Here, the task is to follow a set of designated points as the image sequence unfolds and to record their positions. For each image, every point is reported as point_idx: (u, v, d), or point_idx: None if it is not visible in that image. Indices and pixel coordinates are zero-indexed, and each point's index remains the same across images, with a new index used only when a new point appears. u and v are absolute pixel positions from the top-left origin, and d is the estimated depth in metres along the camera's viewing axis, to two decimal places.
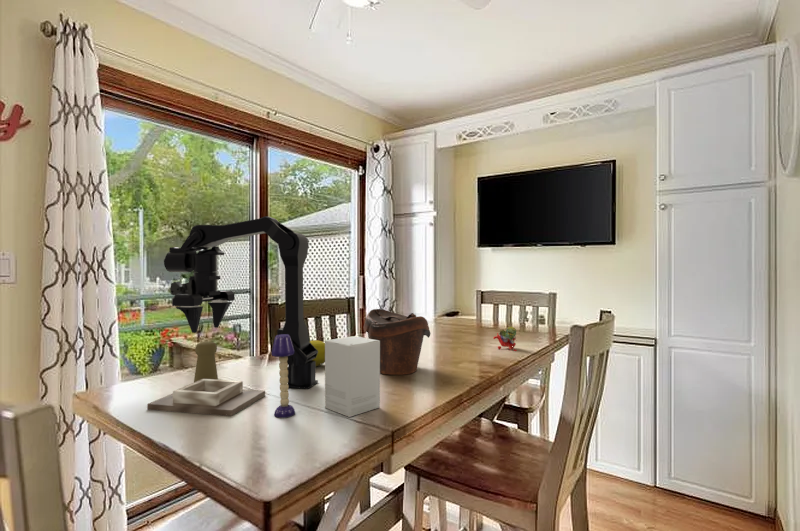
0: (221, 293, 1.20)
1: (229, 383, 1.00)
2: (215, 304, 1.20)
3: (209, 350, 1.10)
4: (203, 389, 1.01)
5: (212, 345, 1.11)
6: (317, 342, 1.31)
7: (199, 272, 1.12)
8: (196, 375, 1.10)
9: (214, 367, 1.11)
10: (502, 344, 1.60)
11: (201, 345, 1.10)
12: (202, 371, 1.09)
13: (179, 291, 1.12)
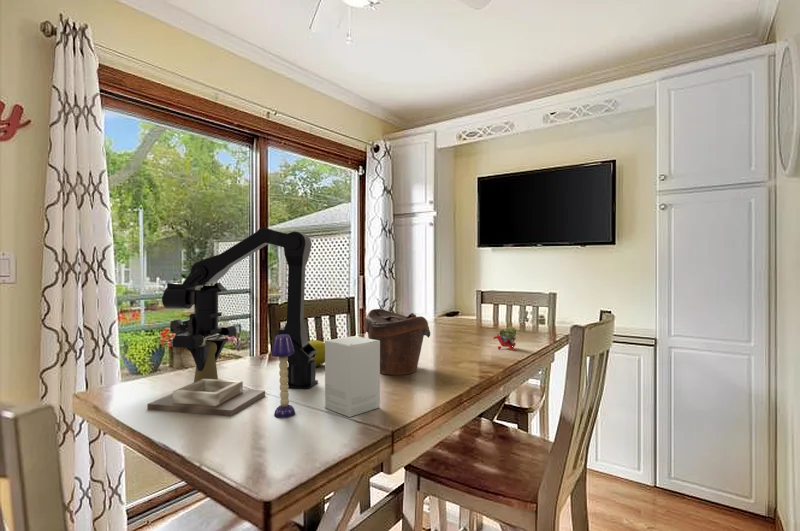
0: (222, 329, 1.17)
1: (229, 383, 1.00)
2: None
3: (209, 350, 1.10)
4: (203, 389, 1.01)
5: (212, 345, 1.11)
6: (317, 342, 1.31)
7: (200, 310, 1.09)
8: (196, 375, 1.10)
9: (214, 367, 1.11)
10: (502, 344, 1.60)
11: None
12: (202, 371, 1.09)
13: (179, 329, 1.08)
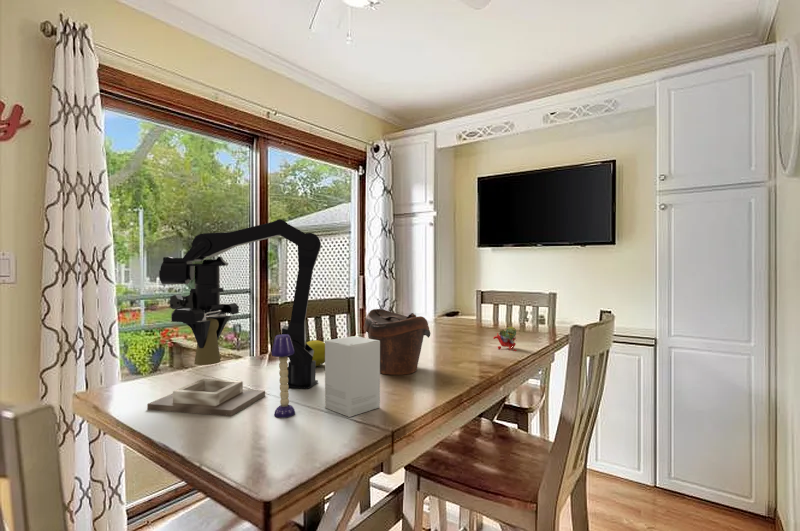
0: (224, 306, 1.12)
1: (229, 383, 1.00)
2: None
3: (211, 326, 1.05)
4: (203, 389, 1.01)
5: (213, 321, 1.06)
6: (317, 342, 1.31)
7: (201, 284, 1.04)
8: (197, 352, 1.05)
9: (216, 344, 1.07)
10: (502, 344, 1.60)
11: None
12: (203, 348, 1.05)
13: (179, 305, 1.04)
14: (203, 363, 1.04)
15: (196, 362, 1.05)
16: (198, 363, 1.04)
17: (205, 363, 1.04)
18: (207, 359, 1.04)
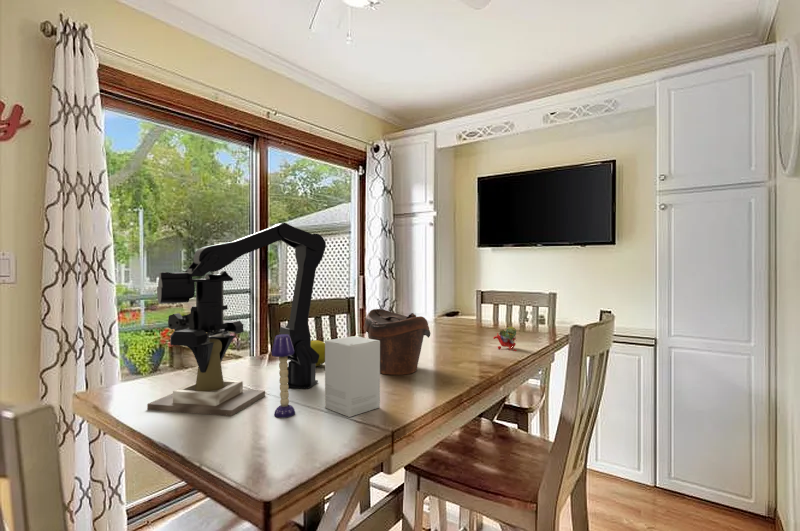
0: (228, 324, 1.02)
1: (229, 383, 1.00)
2: None
3: (213, 348, 0.95)
4: None
5: (217, 343, 0.96)
6: (317, 342, 1.31)
7: (203, 302, 0.94)
8: (198, 377, 0.95)
9: (219, 368, 0.97)
10: (502, 344, 1.60)
11: None
12: (205, 372, 0.95)
13: (179, 325, 0.94)
14: (205, 389, 0.94)
15: (197, 388, 0.95)
16: (199, 389, 0.94)
17: (207, 389, 0.94)
18: (210, 385, 0.95)
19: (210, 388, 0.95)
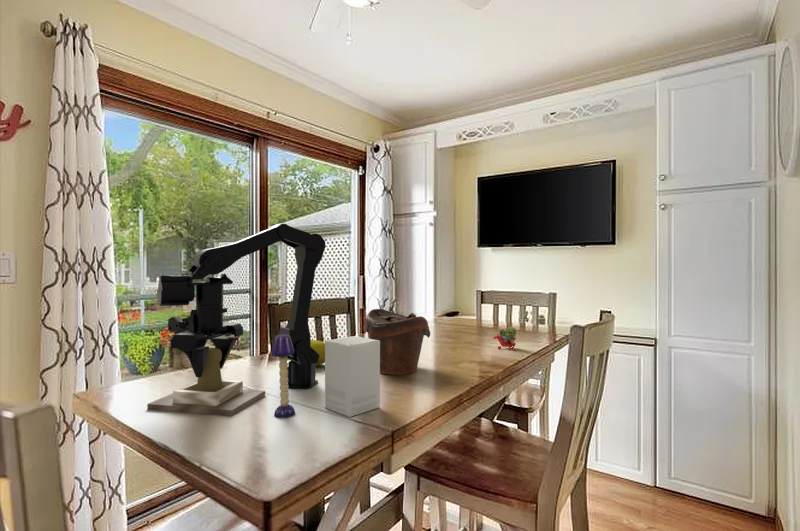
0: (228, 327, 1.02)
1: (229, 383, 1.00)
2: (218, 341, 1.01)
3: (214, 358, 0.95)
4: None
5: (217, 352, 0.96)
6: (317, 342, 1.31)
7: (202, 305, 0.94)
8: (198, 387, 0.95)
9: (219, 377, 0.97)
10: (502, 344, 1.60)
11: None
12: (205, 382, 0.95)
13: (178, 328, 0.94)
14: None
15: None
16: None
17: None
18: None
19: None
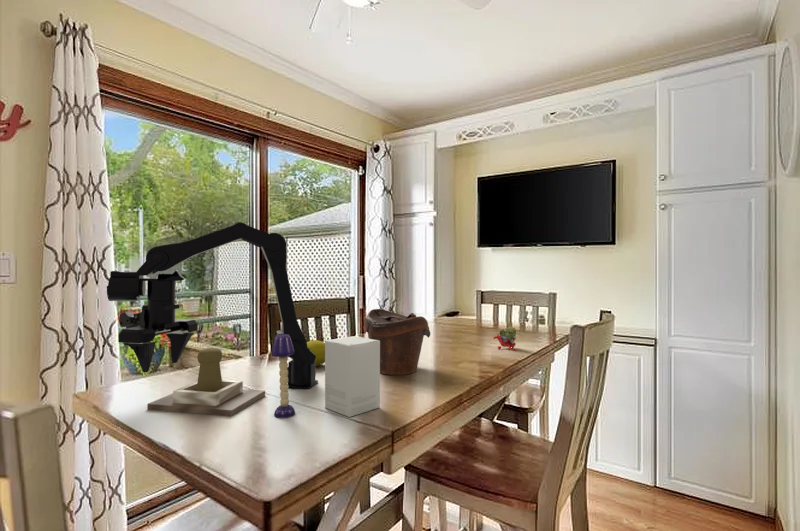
0: (181, 323, 1.04)
1: (229, 383, 1.00)
2: (174, 336, 1.04)
3: (214, 358, 0.95)
4: None
5: (217, 352, 0.96)
6: (317, 342, 1.31)
7: (153, 301, 0.96)
8: (198, 387, 0.95)
9: (219, 377, 0.97)
10: (502, 344, 1.60)
11: (204, 352, 0.95)
12: (205, 382, 0.95)
13: (129, 323, 0.96)
14: None
15: None
16: None
17: None
18: None
19: None
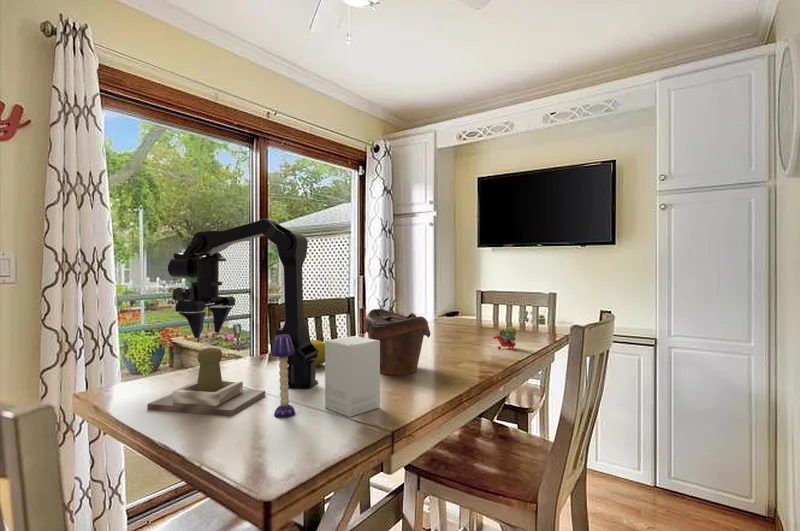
0: (222, 298, 1.22)
1: (229, 383, 1.00)
2: (216, 309, 1.22)
3: (214, 358, 0.95)
4: None
5: (217, 352, 0.96)
6: (317, 342, 1.31)
7: (201, 278, 1.14)
8: (198, 387, 0.95)
9: (219, 377, 0.97)
10: (502, 344, 1.60)
11: (204, 352, 0.95)
12: (205, 382, 0.95)
13: (181, 297, 1.13)
14: None
15: None
16: None
17: None
18: None
19: None
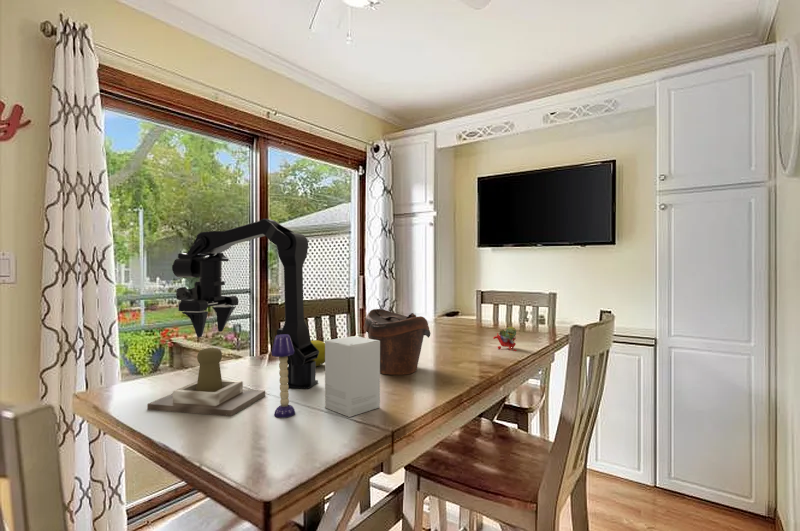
0: (225, 298, 1.23)
1: (229, 383, 1.00)
2: (219, 309, 1.23)
3: (214, 358, 0.95)
4: None
5: (217, 352, 0.96)
6: (317, 342, 1.31)
7: (204, 278, 1.15)
8: (198, 387, 0.95)
9: (219, 377, 0.97)
10: (502, 344, 1.60)
11: (204, 352, 0.95)
12: (205, 382, 0.95)
13: (185, 296, 1.15)
14: None
15: None
16: None
17: None
18: None
19: None
